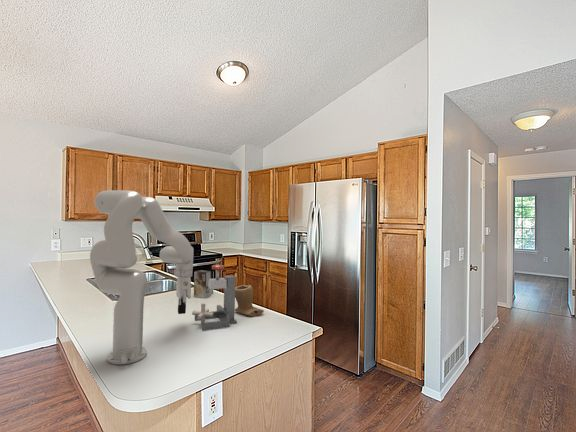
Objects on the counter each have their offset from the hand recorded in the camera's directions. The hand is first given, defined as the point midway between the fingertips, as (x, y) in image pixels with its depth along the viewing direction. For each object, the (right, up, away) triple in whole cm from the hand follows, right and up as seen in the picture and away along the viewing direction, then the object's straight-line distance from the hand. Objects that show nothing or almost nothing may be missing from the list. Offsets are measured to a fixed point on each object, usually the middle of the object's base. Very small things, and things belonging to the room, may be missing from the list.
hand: (181, 313), depth 141 cm
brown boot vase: (+27, -8, +23) cm, 36 cm away
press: (+14, -7, +9) cm, 18 cm away
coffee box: (-6, -7, +55) cm, 56 cm away
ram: (+14, +7, +9) cm, 18 cm away
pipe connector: (+8, -7, +6) cm, 12 cm away
